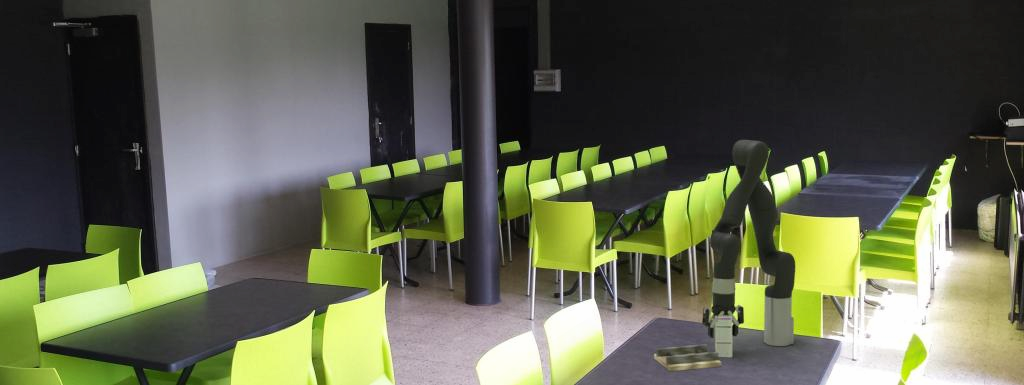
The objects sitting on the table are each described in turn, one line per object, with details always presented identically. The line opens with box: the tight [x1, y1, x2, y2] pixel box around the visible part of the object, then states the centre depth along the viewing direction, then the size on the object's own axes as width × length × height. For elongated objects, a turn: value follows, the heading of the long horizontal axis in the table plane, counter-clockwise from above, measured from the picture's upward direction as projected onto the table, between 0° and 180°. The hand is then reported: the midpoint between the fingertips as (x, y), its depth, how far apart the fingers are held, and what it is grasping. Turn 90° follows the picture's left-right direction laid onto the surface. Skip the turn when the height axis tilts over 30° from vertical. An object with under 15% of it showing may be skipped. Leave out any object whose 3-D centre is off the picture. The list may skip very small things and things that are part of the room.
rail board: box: [653, 343, 722, 372], centre depth 299 cm, size 18×14×4 cm
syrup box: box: [714, 315, 733, 358], centre depth 305 cm, size 6×6×14 cm
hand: (722, 336), depth 305 cm, fingers open, 8 cm apart
